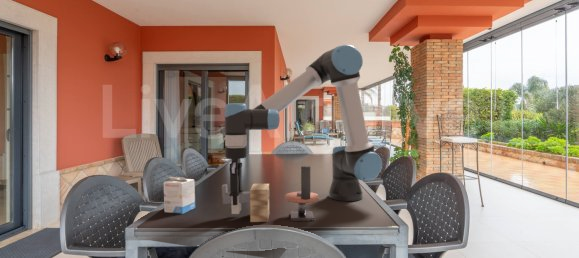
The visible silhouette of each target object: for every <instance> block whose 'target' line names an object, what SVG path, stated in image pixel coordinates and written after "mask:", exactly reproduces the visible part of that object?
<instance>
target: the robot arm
mask: <svg viewBox="0 0 579 258" xmlns="http://www.w3.org/2000/svg"><path fill="white" fill-rule="evenodd" d="M362 67H363V56H362V53H361V52H360V51H359V49H358V48H357V47H356V46H354V45H351V44H342V45H339V46H335V47H334V48H332V49H330V50H327V51H325V52H323V53H322V54H321V55H320V56H318V58H316V60H314V61H313V62H312V63H311V64H309V65H308V66H307V67H306V68H305V71H304V72H302V73H301V74H300V75H299V76H297V77H296V78H294V79H293V80H291V81H290V82H288V83H287V84H286V85H283V87H282V88H280V89H279V90H278V91H276V92H275V93H273V94H272V95H270V96H269V97H268V98H266V99H265V100H264V101H262V102H261V103H260V104H258V105H257V106H256V107H254V108H253V109H252V108H248V107H247V104H246V103H240V102H239V103H237V102H236V103H235V102H234V103H233V102H230V103H227V104H226V105H225V107H224V136H225V137H223V141H224V142H225V148H224V158H225V159H229V160H230V159H231V160H230V163H229V188H230V192H229V193H230V194H229V196H231V205H230V206H231V215H239V214H240V211H242V203H239V192H244V190H243V189H242V188H243V187H242V182H243V181H242V176H243V173H242V172H243V171H242V170H243V162H241V159H246V158H247V157H248V155H247V153H248V152H247V150H248V149H247V147H246V146H247V144H248V142H247V140H248V139H247V136H248V135H247V131H257V130H258V131H268V130H269V131H272V130H277V129H278V128H279V127H280V113H281V112H282V111H284V110H285V109H287V108H288V107H289V106H290V105H292V104H293V103H295V102H296V101H297V100H299V99H300V98H301V97H302V96H304V95H305V94H307V93H309V91H311V90H312V89H314V88H315V87H316V86H317V87H320V86H322V85H323V84H325V83H326V82H329V81H330V84H331V85H332V86H334V87H335V90H336V94H337V99H338V105H339V110H340V115H341V120H342V125H343V130H344V133H345V140H346V145H343V146H342V145H340V146H334V147H333V149H332V154H331V156H332V157H331V158H332V179H331V183H330V186H329V189H328V198H330V199H331V200H335V201H339V202H340V201H341V202H343V201H344V202H354V201H360V200H362V199H363V198H364V196H363V190H362V185H361V183H360V181H364V182H369V181H373V180H374V179H376V178H377V177H378V176H379V175H380V173H381V171H382V168H383V160H382V157H381V156H380V155H379V154H378V153H377V152H375V147H374V146H375V145H374V144H373V143H372V142H371V141H369V138H368V136H369V135H368V130H367V126H366V120H365V116H364V110H363V106H362V99H361V95H360V89H359V85H358V84H359V83H358V82H359V81H360V78H361V75H360V70H361V69H362Z"/></svg>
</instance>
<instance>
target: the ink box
mask: <svg viewBox="0 0 579 258" xmlns="http://www.w3.org/2000/svg"><path fill="white" fill-rule="evenodd" d="M168 179H169V180H167V181H164V182H163V204H164V206H163V207H164V213H170V214H171V213H172V214H182V215H183V214H185V213H187V212H191V211H192V210H194V209H196V193H195V192H196V191H195V189H196V188H195V187H196V186H195V179H193V178H186V177H184V176H183V177H182V176H168Z"/></svg>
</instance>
